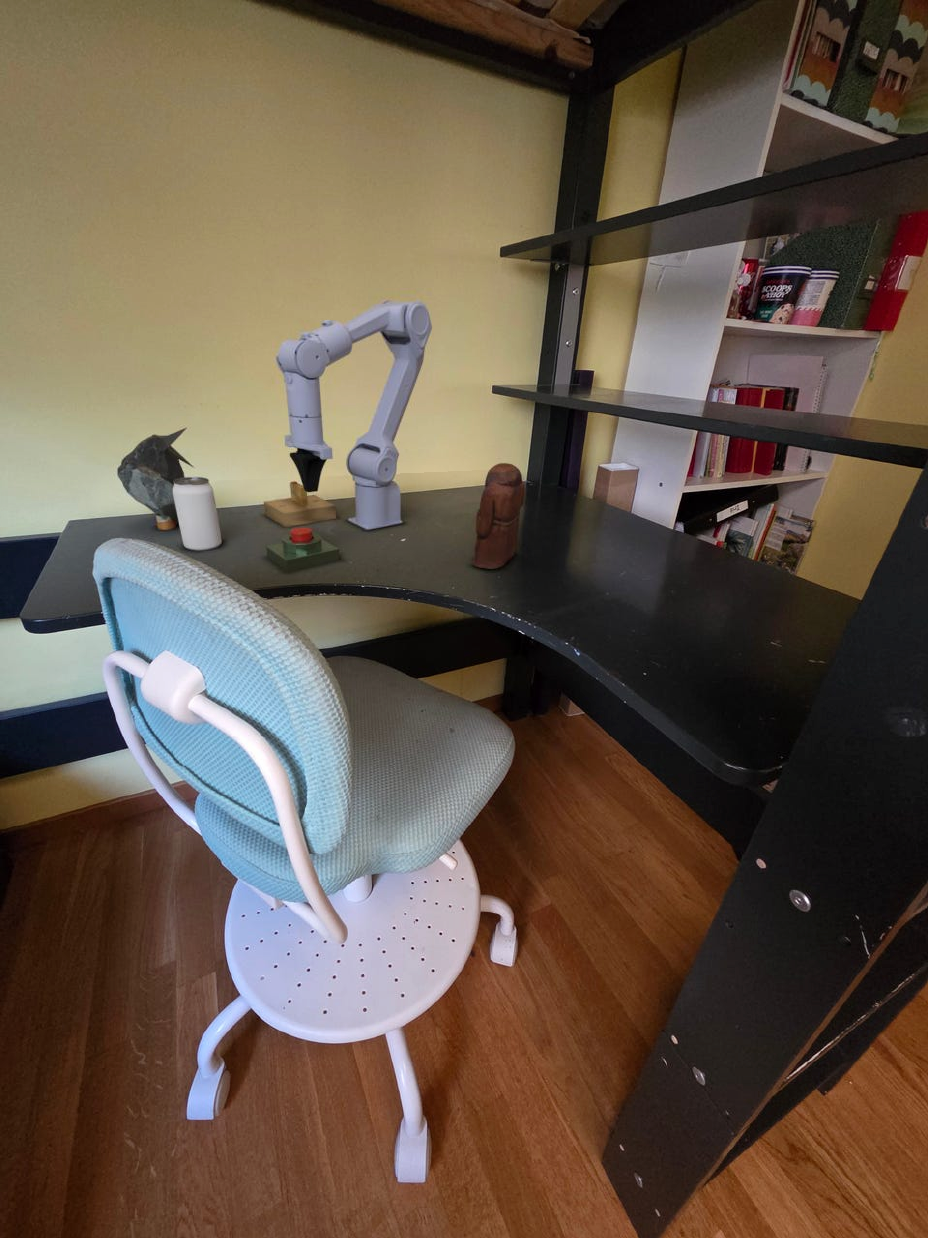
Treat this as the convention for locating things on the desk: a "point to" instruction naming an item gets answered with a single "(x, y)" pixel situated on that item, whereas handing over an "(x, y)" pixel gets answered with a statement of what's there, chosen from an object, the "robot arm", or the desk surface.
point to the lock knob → (298, 494)
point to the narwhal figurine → (154, 476)
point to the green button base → (302, 553)
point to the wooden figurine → (499, 516)
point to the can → (197, 513)
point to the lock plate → (299, 511)
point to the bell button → (301, 534)
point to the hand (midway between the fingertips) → (311, 491)
